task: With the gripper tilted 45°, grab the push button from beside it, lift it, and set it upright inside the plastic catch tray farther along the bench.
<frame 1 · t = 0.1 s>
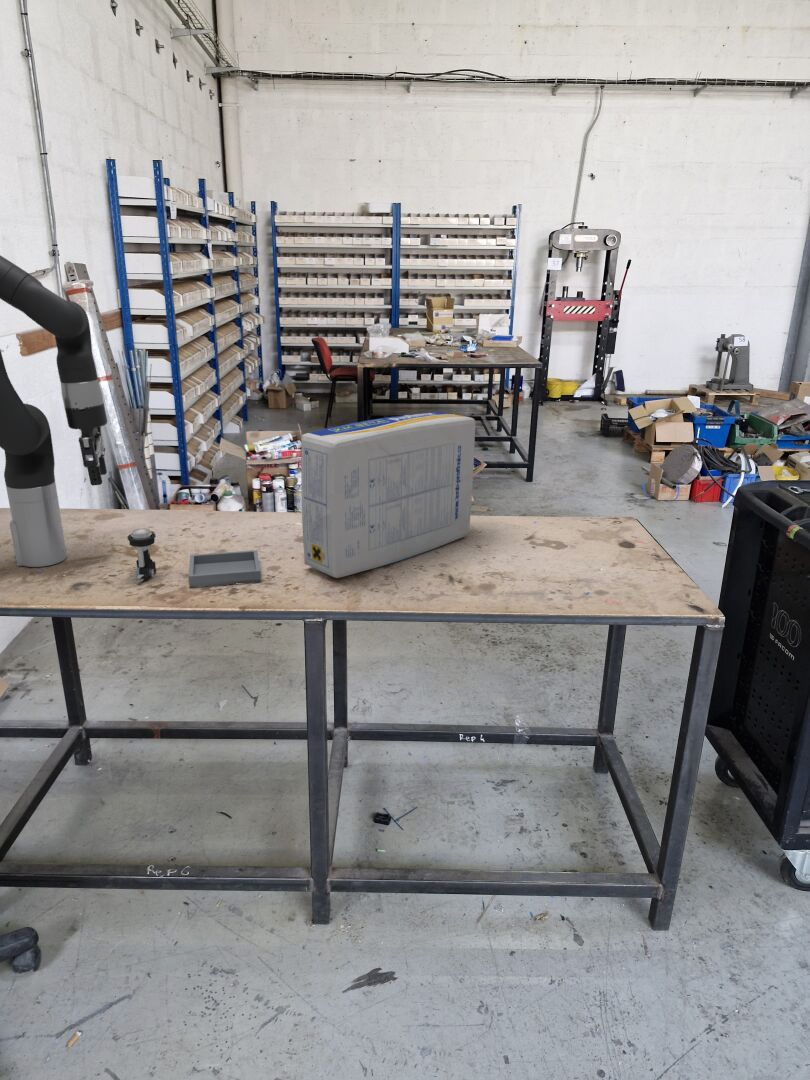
hand: (99, 479, 151), 17 cm above the workbench, tool pointing down, fingers open, 8 cm apart
push button: (145, 579, 146), on the workbench
catch tray: (225, 573, 148), on the workbench
construction material bag: (391, 553, 162), on the workbench
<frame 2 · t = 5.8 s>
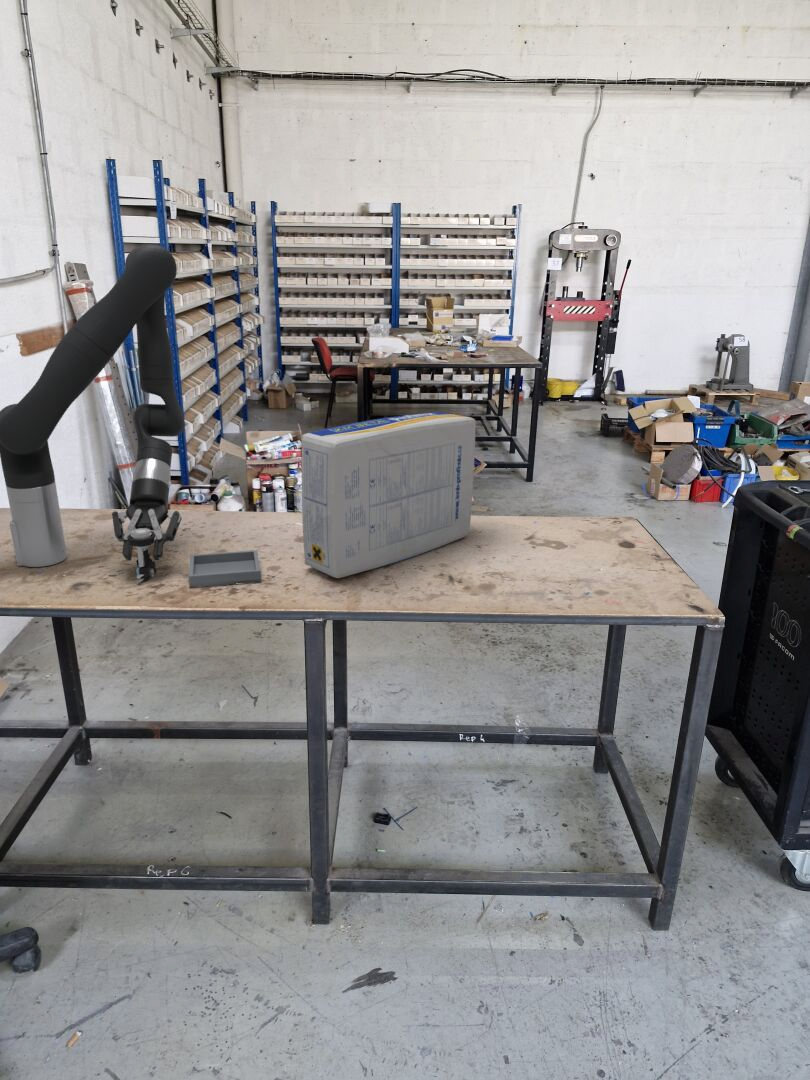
hand: (142, 558, 143), 5 cm above the workbench, tool tilted 45°, fingers closed on push button, 5 cm apart
push button: (145, 579, 146), on the workbench, touching gripper
everything else where it was.
when the fingers open (7 cm above the workbench, at t = 12.1 s): push button drops 1 cm, resting on catch tray.
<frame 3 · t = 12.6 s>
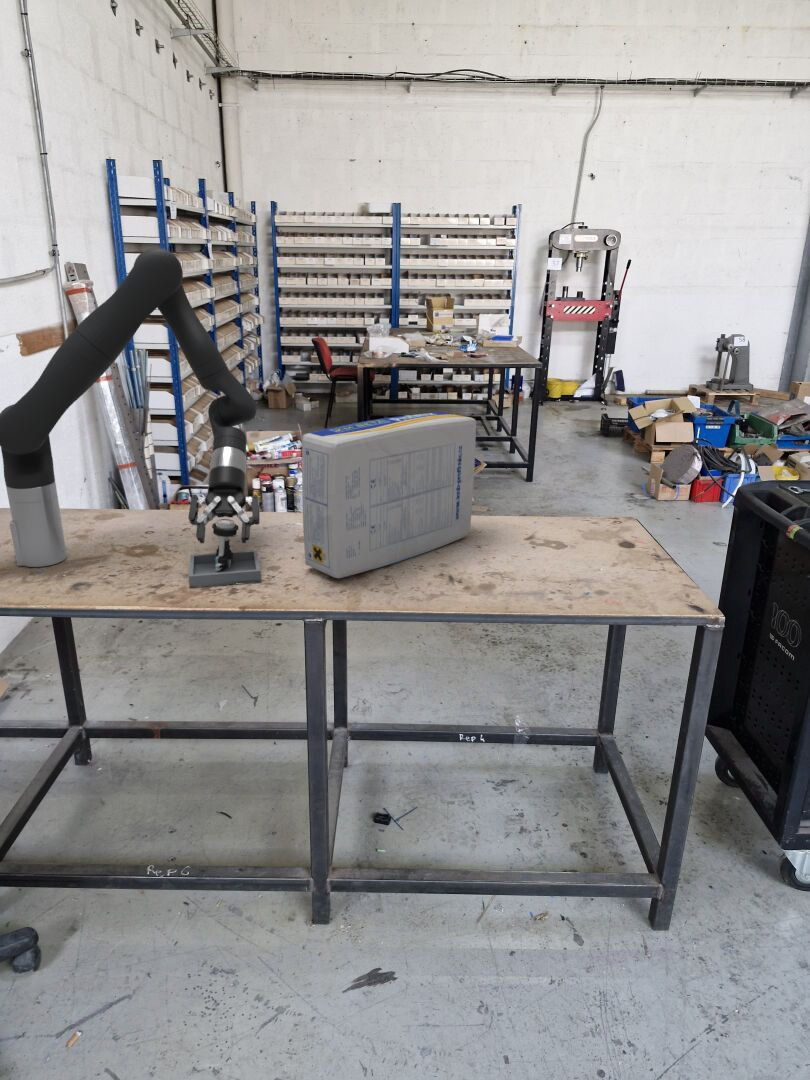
hand: (222, 541, 146), 7 cm above the workbench, tool tilted 45°, fingers open, 8 cm apart
push button: (221, 568, 149), point 1 cm above the workbench, touching catch tray
everything else where it was.
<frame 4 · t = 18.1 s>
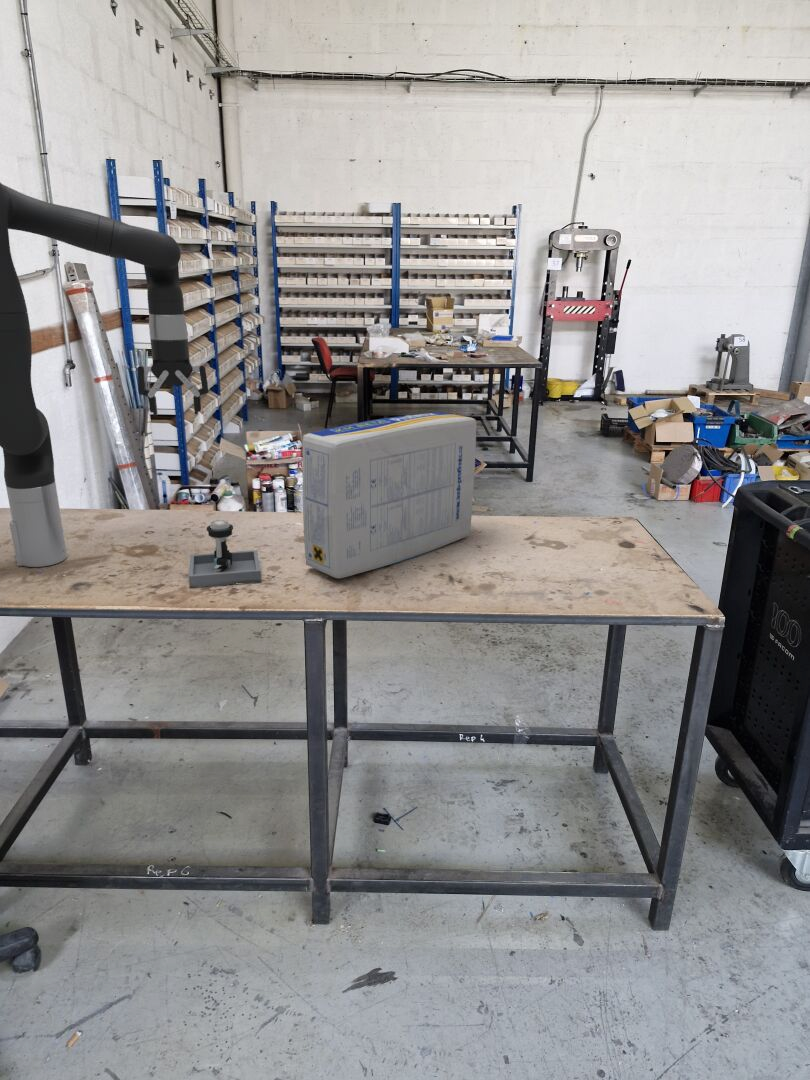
hand: (176, 414, 154), 30 cm above the workbench, tool pointing down, fingers open, 8 cm apart
at the end: push button inside the target area on the catch tray (1.7 cm from its centre), point 0.4 cm above the catch tray's base; push button tilted 0°; the gripper is holding nothing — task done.
